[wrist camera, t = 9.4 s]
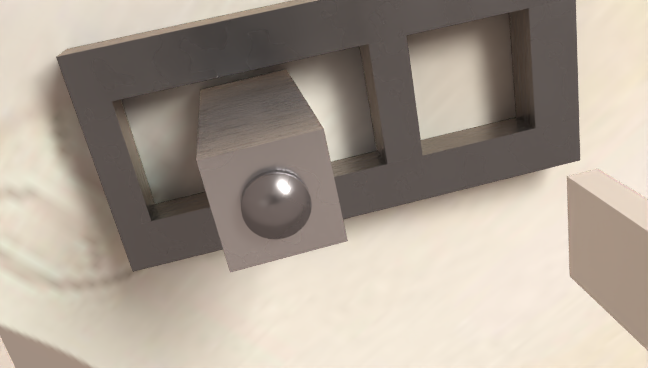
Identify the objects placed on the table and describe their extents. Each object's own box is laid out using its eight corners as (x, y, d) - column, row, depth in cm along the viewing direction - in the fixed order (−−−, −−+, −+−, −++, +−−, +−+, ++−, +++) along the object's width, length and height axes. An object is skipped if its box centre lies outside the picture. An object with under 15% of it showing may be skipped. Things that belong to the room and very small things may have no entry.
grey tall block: (200, 89, 28) (196, 164, 18) (286, 68, 28) (325, 132, 19) (223, 170, 29) (230, 278, 20) (304, 149, 30) (350, 246, 20)
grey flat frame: (66, 49, 26) (56, 56, 24) (550, -55, 28) (573, -55, 26) (137, 251, 30) (132, 271, 28) (558, 147, 32) (580, 160, 30)
